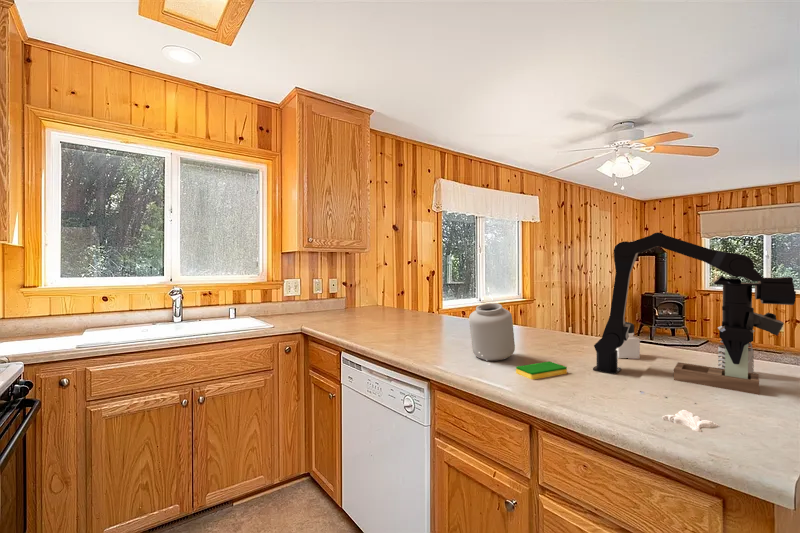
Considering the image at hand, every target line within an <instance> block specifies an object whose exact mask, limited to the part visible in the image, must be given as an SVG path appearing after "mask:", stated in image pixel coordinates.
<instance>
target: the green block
mask: <svg viewBox="0 0 800 533" xmlns="http://www.w3.org/2000/svg"><path fill="white" fill-rule="evenodd" d="M748 348H749V347H748V344H746V345H745V346H744V349H743V352H742V356H741V359H740V363H739V364H734V363H733V362H732V360H731V358H730V356H729V353H728V351H727V349H726V347H725V376H731V377H737V378H744V379H748Z"/></svg>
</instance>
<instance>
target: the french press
mask: <svg viewBox="0 0 800 533" xmlns="http://www.w3.org/2000/svg"><path fill="white" fill-rule="evenodd" d="M720 328H722V325H720V326H718V327H717V329H718V330H720ZM754 332H755V330H754V329H753V333H754ZM719 342H720V344H721V345H718V347H717V353H718V354H717V357H718V359H717V362H718V363H717V365H718V366H717V368H721V369H725V345H724V343H723V341H722V339H720V341H719ZM754 355H755V350H754V349H753V344H752V342H750V343H748V373H755V371H754V369H755V368H754V367H755V366H754V365H755V364H754V363H755V362H754V360H755V359H754V358H755V356H754Z"/></svg>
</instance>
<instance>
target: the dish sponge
mask: <svg viewBox="0 0 800 533" xmlns="http://www.w3.org/2000/svg"><path fill="white" fill-rule="evenodd" d="M515 370H516V371H515V374H517V375H520V376H521V377H524V378H527V379H529V380H538V379H544V378H549V377H555V376H559V375H560V376H561V375H567V374H568V372H567V371H568V368H567V366H565V365H562V364H559V363H555V362H552V361H549V360H548V361H544V362H537V363H532V364H531V363H530V364H526V365H525V364H524V365H518V366H516V367H515Z"/></svg>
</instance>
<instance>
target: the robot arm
mask: <svg viewBox="0 0 800 533" xmlns="http://www.w3.org/2000/svg"><path fill="white" fill-rule="evenodd" d="M655 248H662V249H664V250H668V251H671V252H675V253H678V254H680V255H682V256H687V257H689V258H692V259H695V260H698V261H702V262H704V263H706V264H707V265H710V266H712V267H713V268H715V269H718V270H719V271H722V272H723V273H726V274H727V275H730V276H732V277H736V278H725V277H724V275H720V276H719V277H718V278H717V279H716V280H714V281H713V284H714V285H716V286H722V306H721V312H722V315H721V316H722V320H721V326H722V328H720V330H719V329H718V330H719V336H718V337H719V339H720V340H722V341H723V343H724V344H723V345H725V347H726V349H727V351H728V353H729V356H730V358H731V360H732V362H733V363H734V364H739V363H740V359H741V356H742V352H743V349H744V346H745V345H746V344H748V343H750V342H751V343H752V342H754V332H753V330H754V327H755V328H757V329H759V330H762V331H766V332H768V333H769V334H771V335H774V336H779V334H780V332H781V331H782V329H783V327H784V325H785V323H784V322H783V321H782V320H779V319H777V316H776V314H774V313H772V312H766V313H765V314H761V313H757V312H754V311H755V309H754V307H753V286H754V299H755V300H759V301H760V303H761V304H763V305H782V306H785V305H786V306H787V305H788V306H789V305H790V306H794V305H795V304H796V303H795V302H796V297H797V295H796V294H797V291H796V290H795V283H794V279H793V277H791V276H783V277H763V276H762V274H760V273H759V272H758V271H757V270H756V269H755V266H754V264H755V263H754V262H753V260H752V258H751V257H750V256H747V255H745V254H740V253H736V252H728V251H722V250H717V249H716V250H714V249H710V248H707V247H704V246H701V245H698V244H695V243H691V242H688V241H684V240H682V239H679V238H675V237H672V236H669V235H665V233H662V232H655V233H652V234H651V235H647V236H645V237H641V238H638V239H636V240H633V241H621V242H618V243H617V244H616V245H615V247H614V248H613V262H614V268H615V276H614V282H613V283H614V284H613V289H612V290H613V291H612V298H611V305H610V312H609V317H608V320H607V322H606V324H605V327H604V330H603V332H602V336H601V338H600V339H598V341H597V342H596V343H594V345H593V347H594V349H595V352H596V365H595V366H594V367H592V370H593V371H597V372H603V373H608V374H614V375H616V374H618V373H619V372H620V371H621V370H622V368H621V367H618V366H619V365H618V364H619V363H618V359H619V358H618V351H617V350H616V349H617V348H619V347H620V346H622V344H623V343H624V342H625V341H627V339H628V338H629V334H628V331H629V328H630V324H625V322H626V319H625V316H626V315H625V314H626V307H627V303H628V302H627V300H628V296H629V295H628V294H629V286H630V282H631V280H630V279H631V273H632V271H633V269H634V268H633V267H634V266H635V263H636V260H637V257H638V255H639V254H641V253H645V252H646V251H649V250H653V249H655ZM741 277H743V278H745V279H746V280H748V281H752V282H742V281H741Z"/></svg>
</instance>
